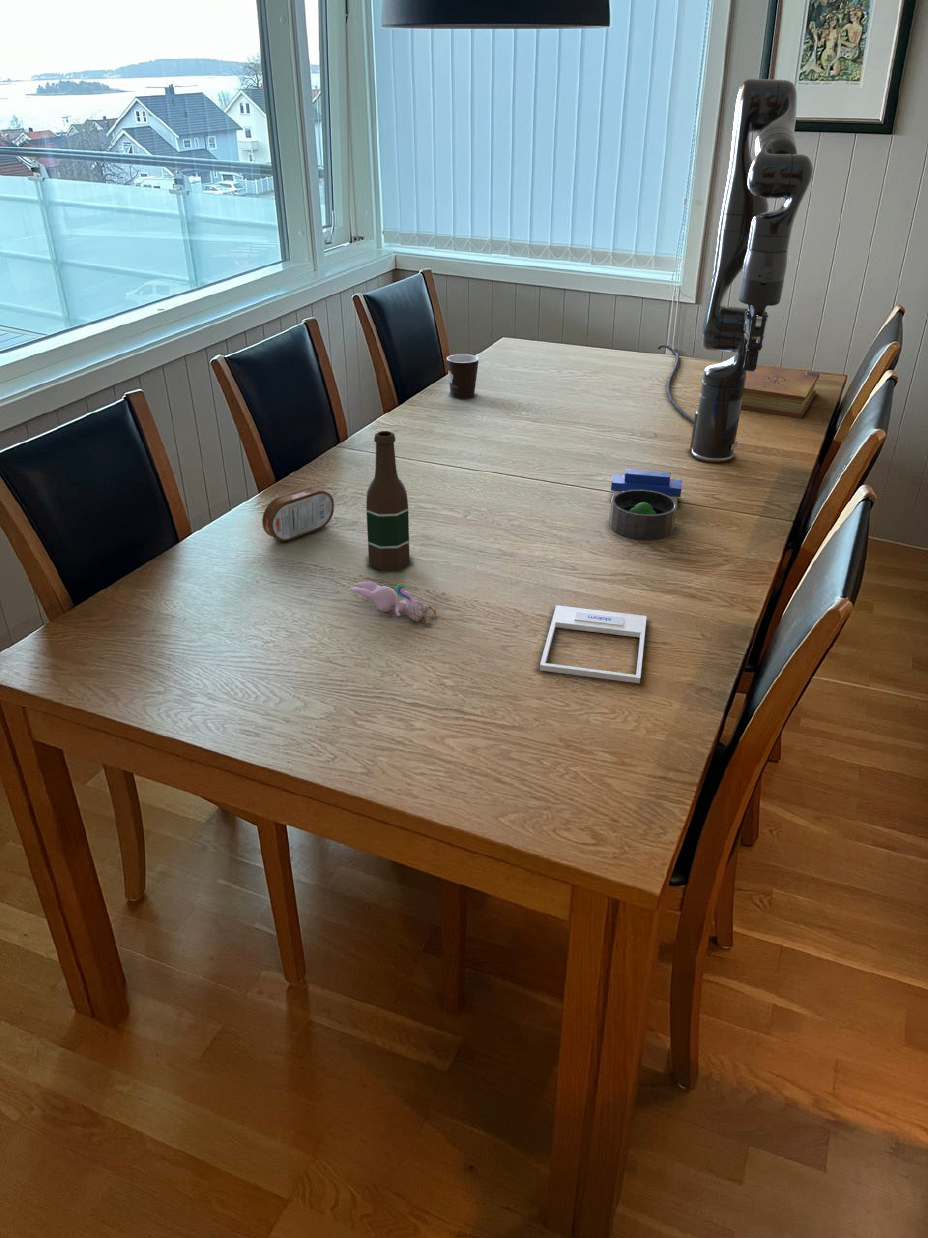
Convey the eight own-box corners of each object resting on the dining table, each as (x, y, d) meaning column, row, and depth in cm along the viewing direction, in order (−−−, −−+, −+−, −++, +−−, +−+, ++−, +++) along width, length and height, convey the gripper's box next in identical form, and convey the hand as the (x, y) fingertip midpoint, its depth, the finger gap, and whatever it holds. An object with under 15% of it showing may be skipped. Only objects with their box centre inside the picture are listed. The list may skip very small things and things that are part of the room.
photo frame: (646, 614, 147) (640, 677, 132) (645, 620, 148) (639, 683, 133) (556, 604, 150) (540, 663, 135) (555, 610, 150) (539, 670, 135)
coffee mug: (478, 400, 246) (478, 362, 241) (446, 399, 246) (446, 362, 241) (478, 387, 256) (478, 351, 251) (447, 386, 256) (447, 350, 251)
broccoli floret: (622, 526, 178) (625, 503, 175) (641, 518, 181) (644, 495, 179) (644, 535, 174) (647, 512, 172) (663, 527, 178) (666, 504, 175)
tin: (328, 519, 180) (325, 479, 176) (338, 524, 178) (335, 484, 174) (263, 543, 171) (258, 501, 167) (273, 548, 169) (268, 506, 165)
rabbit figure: (439, 619, 151) (360, 587, 155) (444, 589, 147) (363, 557, 151) (421, 637, 146) (340, 603, 150) (426, 606, 142) (343, 573, 146)
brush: (609, 501, 189) (612, 474, 186) (611, 492, 193) (614, 465, 190) (678, 508, 187) (682, 480, 183) (679, 498, 191) (683, 471, 188)
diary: (747, 384, 261) (750, 364, 258) (815, 393, 254) (819, 373, 251) (728, 406, 243) (732, 385, 240) (801, 417, 236) (805, 395, 233)
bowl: (597, 520, 181) (599, 494, 178) (651, 511, 185) (654, 485, 182) (630, 546, 171) (633, 519, 168) (686, 536, 175) (690, 509, 172)
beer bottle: (377, 575, 161) (371, 444, 148) (361, 557, 166) (354, 429, 154) (418, 566, 164) (415, 437, 151) (400, 548, 170) (396, 423, 157)
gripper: (740, 267, 175) (727, 353, 183) (743, 281, 163) (729, 373, 171) (781, 269, 173) (766, 355, 182) (787, 284, 161) (770, 375, 170)
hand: (748, 364), depth 176 cm, fingers open, 8 cm apart
